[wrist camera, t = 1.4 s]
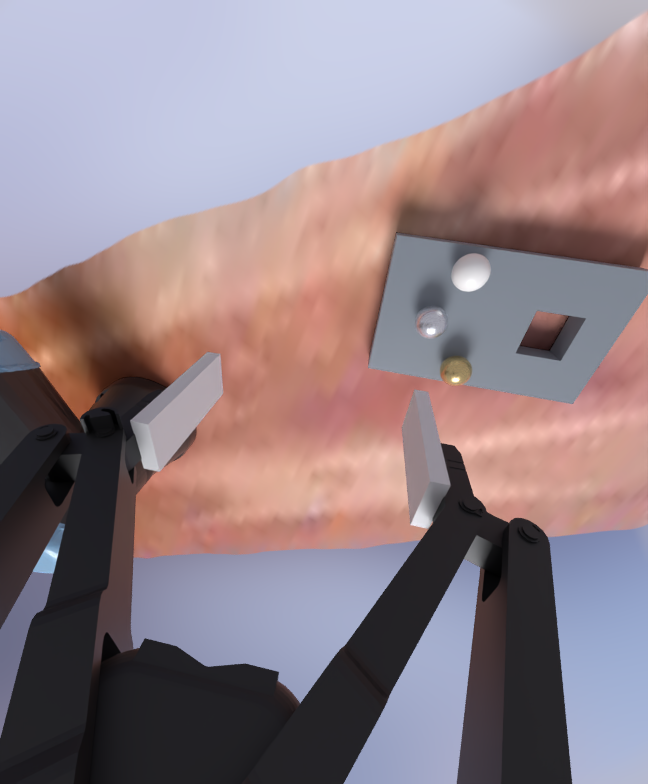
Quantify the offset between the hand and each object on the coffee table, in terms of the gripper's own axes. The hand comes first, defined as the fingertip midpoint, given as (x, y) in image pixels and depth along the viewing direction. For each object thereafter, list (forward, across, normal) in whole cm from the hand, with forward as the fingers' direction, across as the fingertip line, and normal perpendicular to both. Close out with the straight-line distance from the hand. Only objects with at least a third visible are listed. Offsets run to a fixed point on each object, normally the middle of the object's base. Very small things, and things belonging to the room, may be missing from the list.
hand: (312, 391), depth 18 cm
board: (+20, +15, 0) cm, 25 cm away
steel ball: (+16, +9, 0) cm, 18 cm away
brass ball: (+16, +13, -4) cm, 21 cm away
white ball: (+16, +11, +5) cm, 20 cm away
